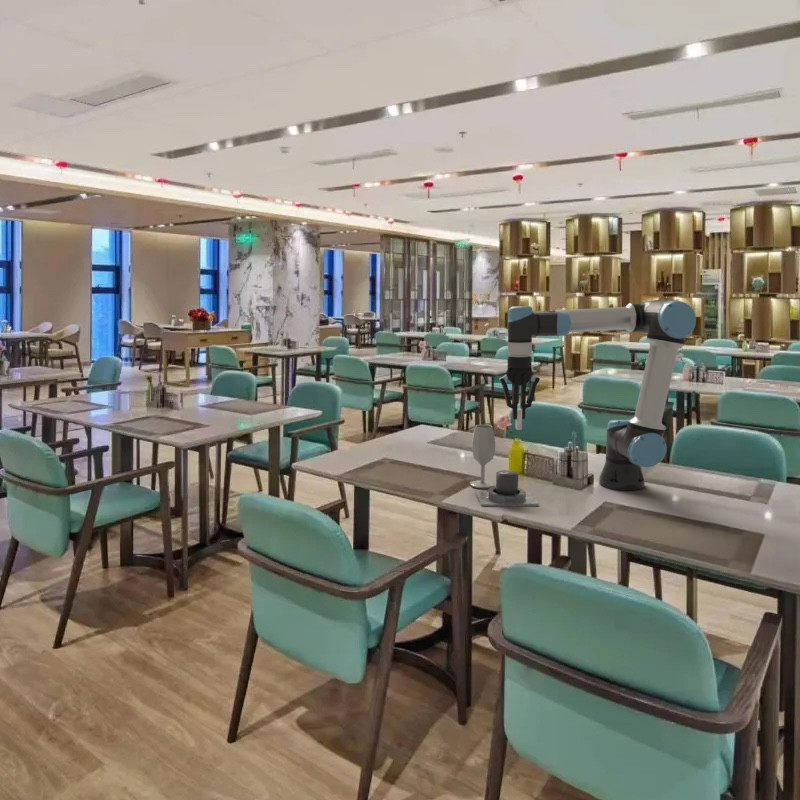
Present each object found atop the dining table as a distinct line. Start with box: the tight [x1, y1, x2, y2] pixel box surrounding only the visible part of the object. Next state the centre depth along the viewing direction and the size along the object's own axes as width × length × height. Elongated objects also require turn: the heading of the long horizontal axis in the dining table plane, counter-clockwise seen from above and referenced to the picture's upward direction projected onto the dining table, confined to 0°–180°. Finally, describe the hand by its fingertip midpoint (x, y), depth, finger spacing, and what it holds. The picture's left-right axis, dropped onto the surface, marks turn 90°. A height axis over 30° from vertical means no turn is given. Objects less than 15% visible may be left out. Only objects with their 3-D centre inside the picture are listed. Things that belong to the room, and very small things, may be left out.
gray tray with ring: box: [475, 486, 539, 507], centre depth 237 cm, size 18×13×3 cm
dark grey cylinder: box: [495, 469, 519, 495], centre depth 236 cm, size 7×7×8 cm
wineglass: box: [469, 424, 496, 490], centre depth 252 cm, size 9×9×21 cm
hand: (518, 429), depth 236 cm, fingers closed
